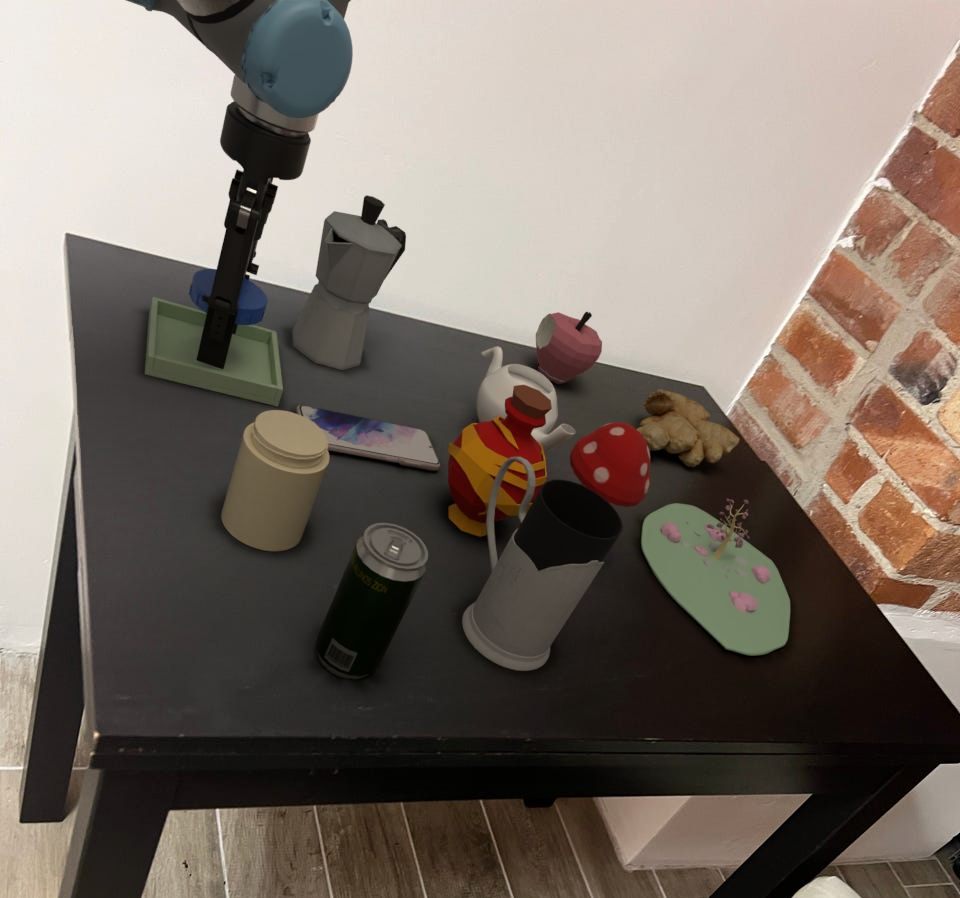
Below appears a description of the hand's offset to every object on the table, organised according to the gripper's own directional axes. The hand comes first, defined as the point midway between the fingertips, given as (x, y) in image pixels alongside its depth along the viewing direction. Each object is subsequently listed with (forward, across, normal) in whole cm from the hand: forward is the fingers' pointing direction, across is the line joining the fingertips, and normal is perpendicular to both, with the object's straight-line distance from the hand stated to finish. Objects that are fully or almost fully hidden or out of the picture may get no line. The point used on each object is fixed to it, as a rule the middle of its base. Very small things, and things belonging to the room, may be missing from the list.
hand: (216, 345), depth 95 cm
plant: (+2, +11, +61) cm, 62 cm away
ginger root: (+2, -20, +60) cm, 64 cm away
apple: (+2, -27, +43) cm, 51 cm away
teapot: (+2, -3, +33) cm, 33 cm away
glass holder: (+2, +28, +30) cm, 41 cm away
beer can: (+2, +39, +17) cm, 42 cm away
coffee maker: (+2, -12, +12) cm, 17 cm away
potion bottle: (+2, +14, +29) cm, 32 cm away
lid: (-6, 0, 0) cm, 6 cm away
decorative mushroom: (+2, +13, +40) cm, 42 cm away
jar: (+2, +25, +8) cm, 26 cm away
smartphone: (+2, +6, +17) cm, 18 cm away
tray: (+2, 0, 0) cm, 2 cm away
